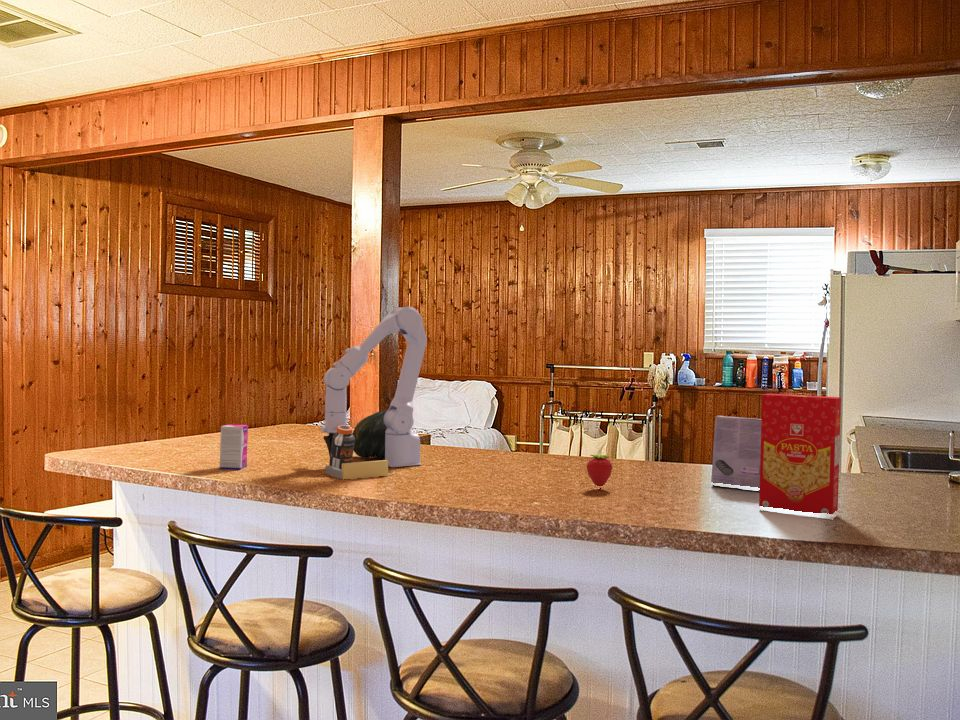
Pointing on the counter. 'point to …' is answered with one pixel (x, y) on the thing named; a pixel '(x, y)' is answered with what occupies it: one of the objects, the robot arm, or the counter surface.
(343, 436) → the pill bottle
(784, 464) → the food packaging
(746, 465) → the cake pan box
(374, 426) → the squash
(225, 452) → the supplement box
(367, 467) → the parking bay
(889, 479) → the counter surface
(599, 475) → the strawberry
